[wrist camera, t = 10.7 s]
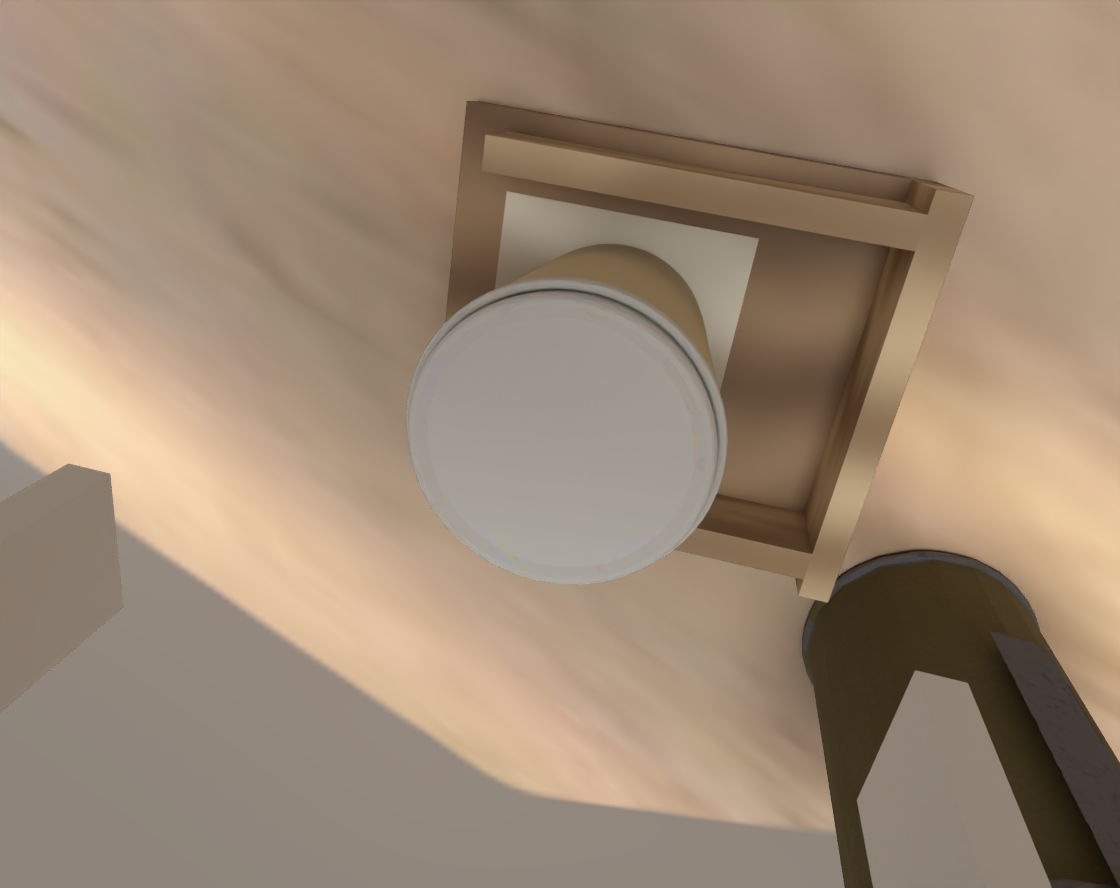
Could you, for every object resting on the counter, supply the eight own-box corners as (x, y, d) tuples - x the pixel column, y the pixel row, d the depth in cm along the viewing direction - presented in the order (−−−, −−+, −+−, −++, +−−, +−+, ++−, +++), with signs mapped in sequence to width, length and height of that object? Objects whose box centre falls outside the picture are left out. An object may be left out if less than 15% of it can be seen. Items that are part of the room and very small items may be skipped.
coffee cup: (505, 435, 36) (412, 581, 25) (495, 219, 32) (379, 281, 21) (718, 446, 34) (717, 608, 23) (732, 221, 30) (739, 288, 20)
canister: (979, 755, 40) (1196, 1304, 22) (773, 695, 40) (815, 1174, 22) (1084, 578, 35) (1474, 1086, 17) (850, 514, 36) (982, 932, 18)
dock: (477, 101, 32) (437, 101, 27) (936, 181, 30) (974, 196, 26) (441, 456, 39) (404, 503, 34) (814, 541, 37) (828, 602, 32)
